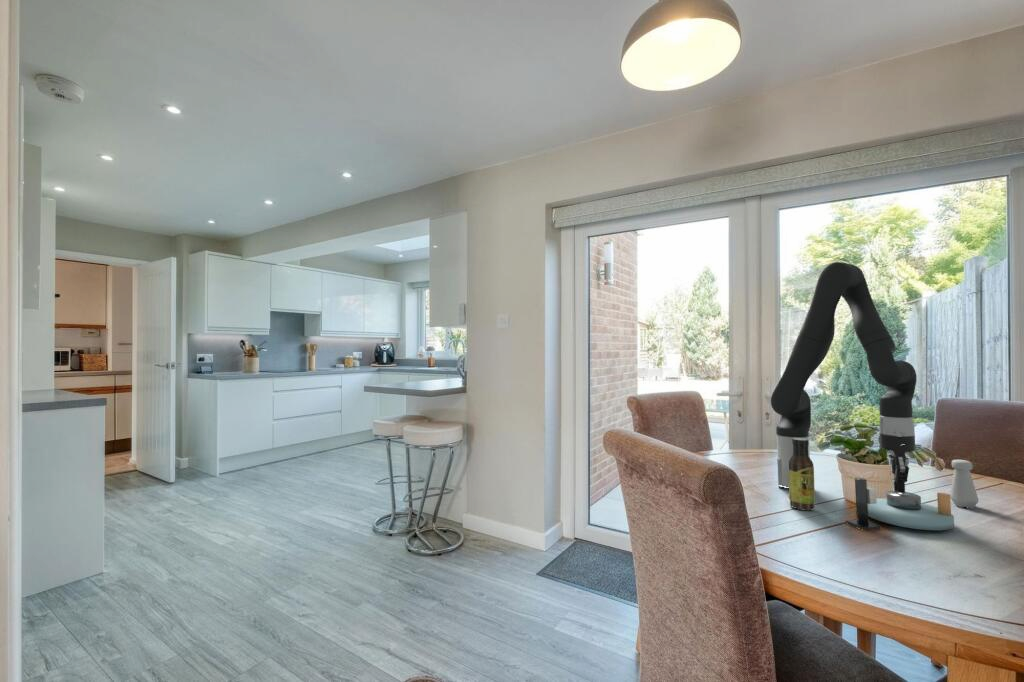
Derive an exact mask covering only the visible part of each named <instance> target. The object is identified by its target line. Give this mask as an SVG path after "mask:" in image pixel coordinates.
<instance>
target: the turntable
mask: <svg viewBox="0 0 1024 682" xmlns="http://www.w3.org/2000/svg"><path fill="white" fill-rule="evenodd" d="M936 494H937V495H936V497H937V506H935V505H934V506H933V505H930V504H928V503H927V504H926V503H922V502H921V510H904V509H899V508H895V507H892V506H889V505H888V504H887V498H880V497H879V498H878V497H877V498H876V499H877V503H876V504H868V518H869V517H870V518H872V519H874V520H877V521H878V522H882V523H885V524H889V525H893V526H897V527H903V528H908V529H914V530H915V529H916V530H922V531H944V530H945V531H946V530H951V529H953V528H954V527H955V517H954V514H952V504H951V501H952V500H951V498H950V493H945V492H937V493H936Z"/></svg>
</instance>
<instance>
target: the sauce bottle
mask: <svg viewBox="0 0 1024 682" xmlns="http://www.w3.org/2000/svg"><path fill="white" fill-rule="evenodd" d="M792 443H793V455H792V457H791V459H790V460H789V489H788V495H789V496H788V497H789V498H788V499H789V505H791V506H793V507H792V508H794V507H796V508H799V509H798V510H801V509H804V510H803V511H813V510H815V508H816V507H815V502H816V494H815V492H816V491H815V466H814V462H813V461H812V459H811V457H810V458H809V456H808V454H809V453H808V445H809V446H810V439H809V440H808V439H804V438H793V439H792ZM791 506H790V507H791ZM796 508H795V509H796ZM812 509H813V510H812Z"/></svg>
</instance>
